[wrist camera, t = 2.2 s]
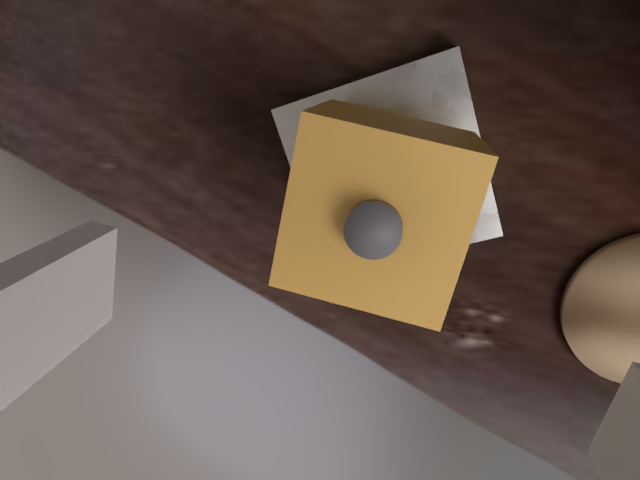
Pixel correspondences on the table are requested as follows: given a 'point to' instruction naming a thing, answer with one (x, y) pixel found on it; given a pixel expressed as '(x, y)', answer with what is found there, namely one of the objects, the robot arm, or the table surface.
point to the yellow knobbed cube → (380, 211)
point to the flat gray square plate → (407, 109)
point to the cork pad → (605, 309)
